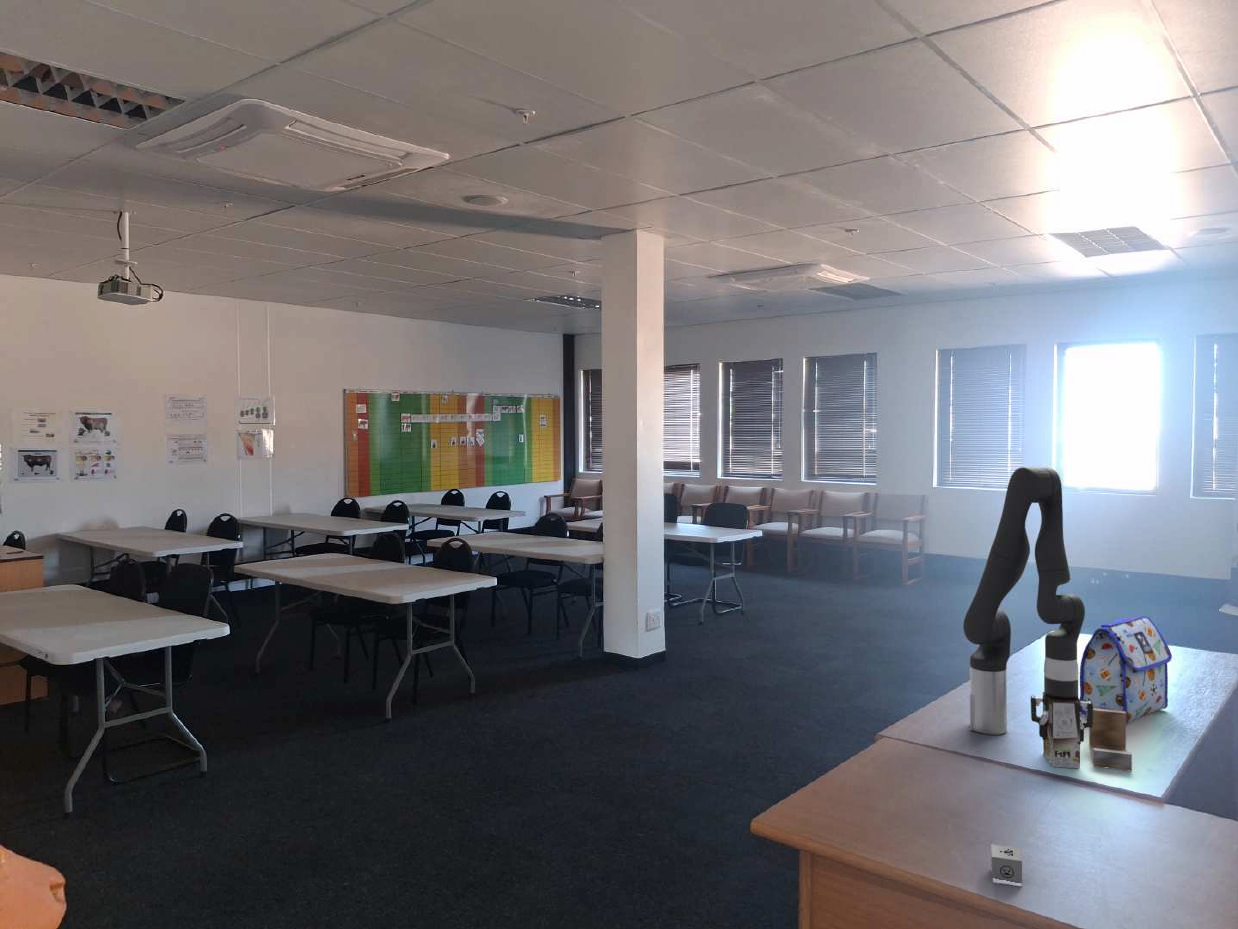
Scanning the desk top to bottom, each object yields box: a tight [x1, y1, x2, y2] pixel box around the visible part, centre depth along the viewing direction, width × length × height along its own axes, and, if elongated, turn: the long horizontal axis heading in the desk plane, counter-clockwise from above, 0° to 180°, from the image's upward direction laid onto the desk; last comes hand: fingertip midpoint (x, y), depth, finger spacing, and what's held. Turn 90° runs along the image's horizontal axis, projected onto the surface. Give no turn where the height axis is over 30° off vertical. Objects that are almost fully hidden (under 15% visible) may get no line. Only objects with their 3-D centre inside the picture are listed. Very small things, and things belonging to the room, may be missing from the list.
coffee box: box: [1042, 691, 1081, 769], centre depth 212 cm, size 9×6×16 cm
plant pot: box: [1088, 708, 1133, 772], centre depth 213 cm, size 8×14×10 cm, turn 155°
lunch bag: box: [1079, 615, 1173, 724], centre depth 244 cm, size 23×17×27 cm
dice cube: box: [990, 843, 1023, 884], centre depth 160 cm, size 5×5×5 cm
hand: (1061, 740), depth 212 cm, fingers closed on coffee box, 7 cm apart
